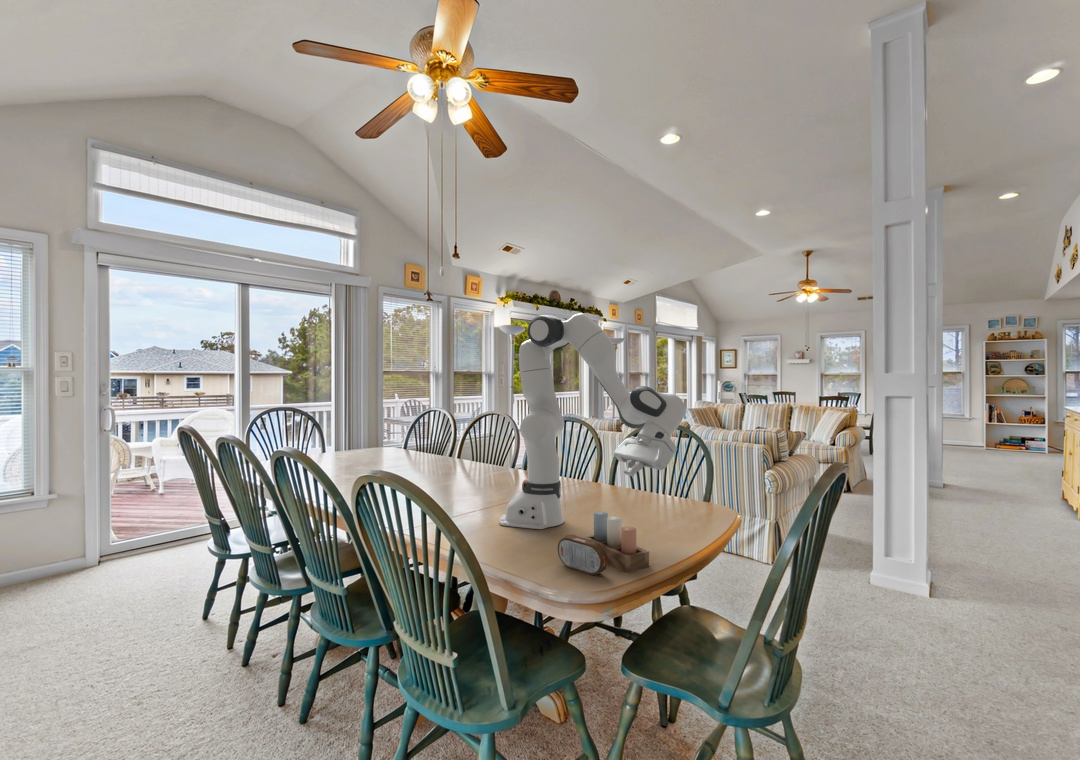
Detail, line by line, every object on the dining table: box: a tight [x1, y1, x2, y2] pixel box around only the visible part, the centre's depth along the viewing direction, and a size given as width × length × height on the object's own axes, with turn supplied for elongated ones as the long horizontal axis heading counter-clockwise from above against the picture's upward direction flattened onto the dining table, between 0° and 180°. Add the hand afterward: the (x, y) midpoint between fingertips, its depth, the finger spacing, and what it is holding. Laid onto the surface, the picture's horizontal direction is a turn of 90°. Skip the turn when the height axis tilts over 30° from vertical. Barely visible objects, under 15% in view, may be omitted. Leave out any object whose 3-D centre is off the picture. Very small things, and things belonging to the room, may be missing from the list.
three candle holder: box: [581, 534, 650, 574], centre depth 141 cm, size 19×8×4 cm, turn 31°
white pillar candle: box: [607, 515, 623, 548], centre depth 141 cm, size 4×4×8 cm
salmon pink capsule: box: [621, 526, 637, 555], centre depth 136 cm, size 4×4×8 cm
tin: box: [557, 534, 609, 576], centre depth 133 cm, size 15×3×8 cm, turn 48°
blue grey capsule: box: [593, 511, 609, 542], centre depth 146 cm, size 4×4×8 cm
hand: (628, 474), depth 151 cm, fingers closed
